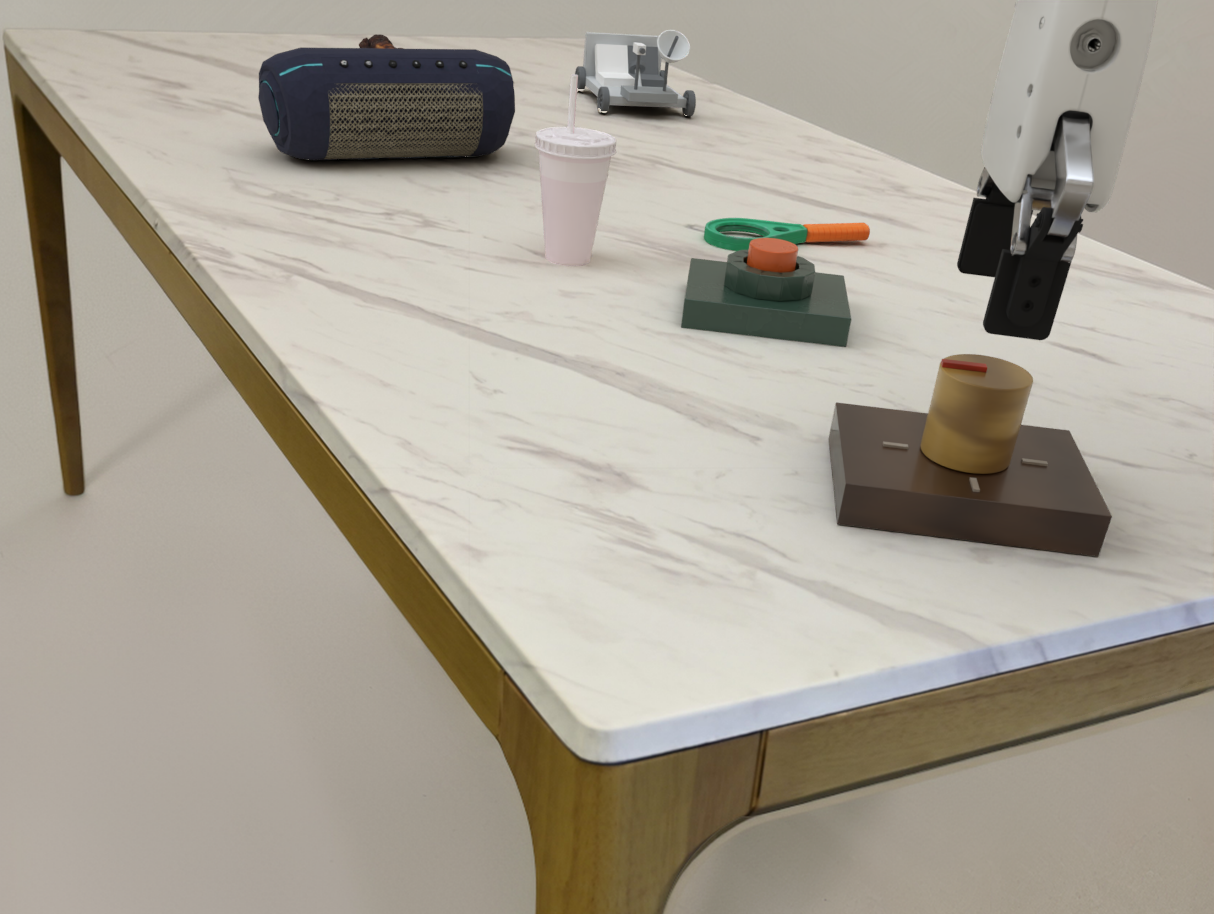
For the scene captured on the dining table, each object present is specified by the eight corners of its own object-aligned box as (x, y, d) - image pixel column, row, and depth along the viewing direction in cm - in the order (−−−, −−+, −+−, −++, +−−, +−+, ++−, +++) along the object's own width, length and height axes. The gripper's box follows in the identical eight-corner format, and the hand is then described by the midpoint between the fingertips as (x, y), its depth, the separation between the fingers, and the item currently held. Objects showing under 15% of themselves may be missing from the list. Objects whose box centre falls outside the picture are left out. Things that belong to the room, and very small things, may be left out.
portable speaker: (278, 174, 117) (272, 58, 112) (254, 147, 125) (247, 37, 119) (528, 167, 127) (534, 60, 122) (493, 142, 135) (496, 41, 129)
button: (794, 263, 95) (798, 240, 94) (795, 278, 92) (799, 254, 91) (746, 258, 95) (749, 235, 95) (746, 273, 92) (749, 249, 91)
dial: (1002, 441, 73) (1026, 354, 70) (1016, 479, 69) (1043, 388, 66) (915, 430, 73) (936, 343, 71) (925, 468, 69) (947, 377, 66)
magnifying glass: (716, 252, 108) (718, 232, 107) (694, 231, 113) (696, 212, 112) (877, 253, 112) (881, 234, 111) (849, 232, 117) (853, 214, 116)
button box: (838, 302, 100) (848, 252, 98) (845, 347, 91) (856, 293, 89) (687, 284, 100) (693, 234, 98) (680, 328, 92) (687, 274, 90)
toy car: (711, 35, 146) (614, 30, 143) (700, 124, 151) (607, 121, 148) (667, 10, 161) (579, 5, 158) (659, 92, 166) (573, 89, 163)
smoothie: (560, 241, 107) (571, 64, 99) (622, 260, 104) (638, 79, 97) (512, 257, 102) (520, 72, 95) (576, 277, 99) (589, 88, 92)
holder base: (1058, 467, 77) (1070, 427, 75) (1098, 557, 68) (1113, 513, 66) (828, 439, 78) (836, 399, 76) (837, 524, 68) (846, 480, 67)
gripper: (1242, -35, 50) (1108, 373, 59) (1133, -68, 64) (1039, 263, 74) (1051, -57, 50) (947, 352, 59) (986, -85, 65) (910, 247, 74)
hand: (998, 302), depth 66 cm, fingers open, 9 cm apart
